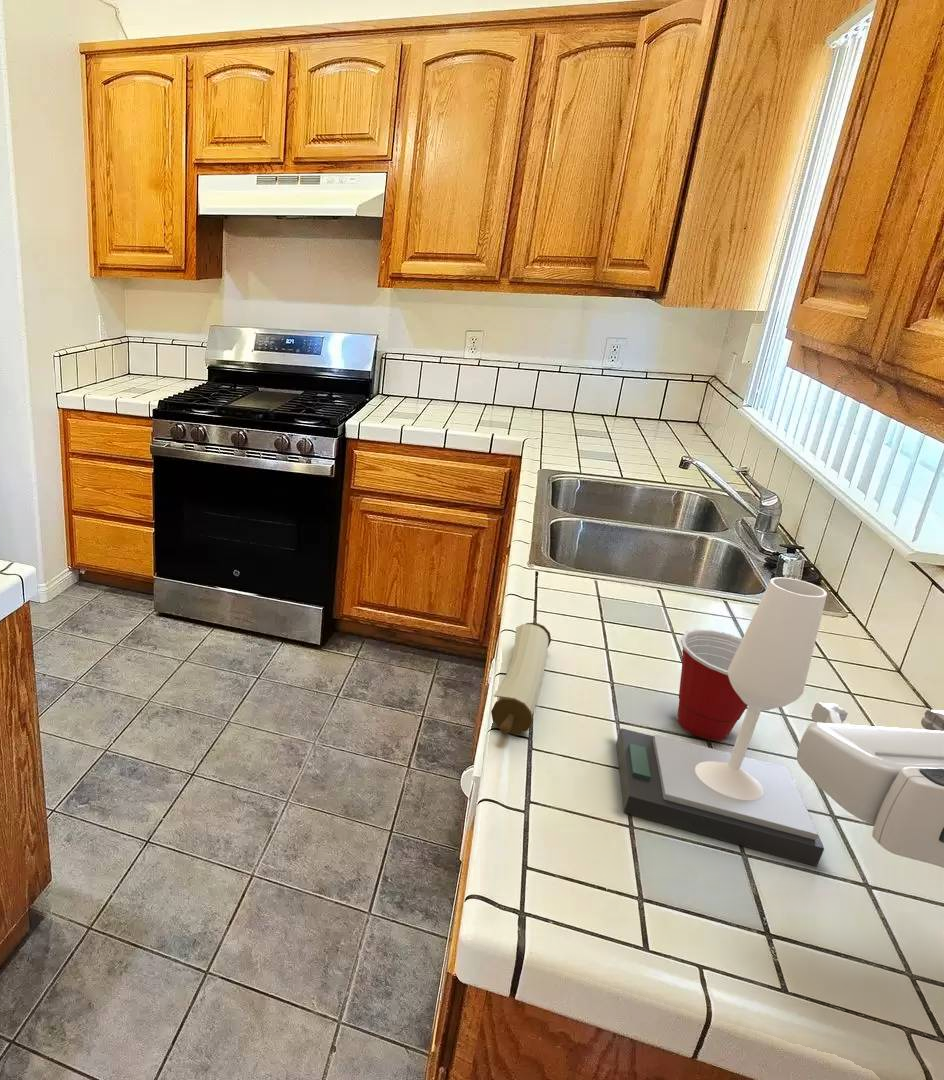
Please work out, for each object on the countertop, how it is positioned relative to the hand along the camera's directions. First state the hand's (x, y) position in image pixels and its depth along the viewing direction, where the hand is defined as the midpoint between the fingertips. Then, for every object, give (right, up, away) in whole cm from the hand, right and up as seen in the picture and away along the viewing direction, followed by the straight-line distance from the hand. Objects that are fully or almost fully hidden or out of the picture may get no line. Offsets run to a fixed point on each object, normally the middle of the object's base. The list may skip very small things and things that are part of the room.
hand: (876, 713), depth 66 cm
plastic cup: (+6, -10, +33) cm, 35 cm away
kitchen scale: (-2, -15, +20) cm, 25 cm away
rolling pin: (-15, -6, +41) cm, 44 cm away
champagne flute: (-1, -12, +19) cm, 22 cm away
